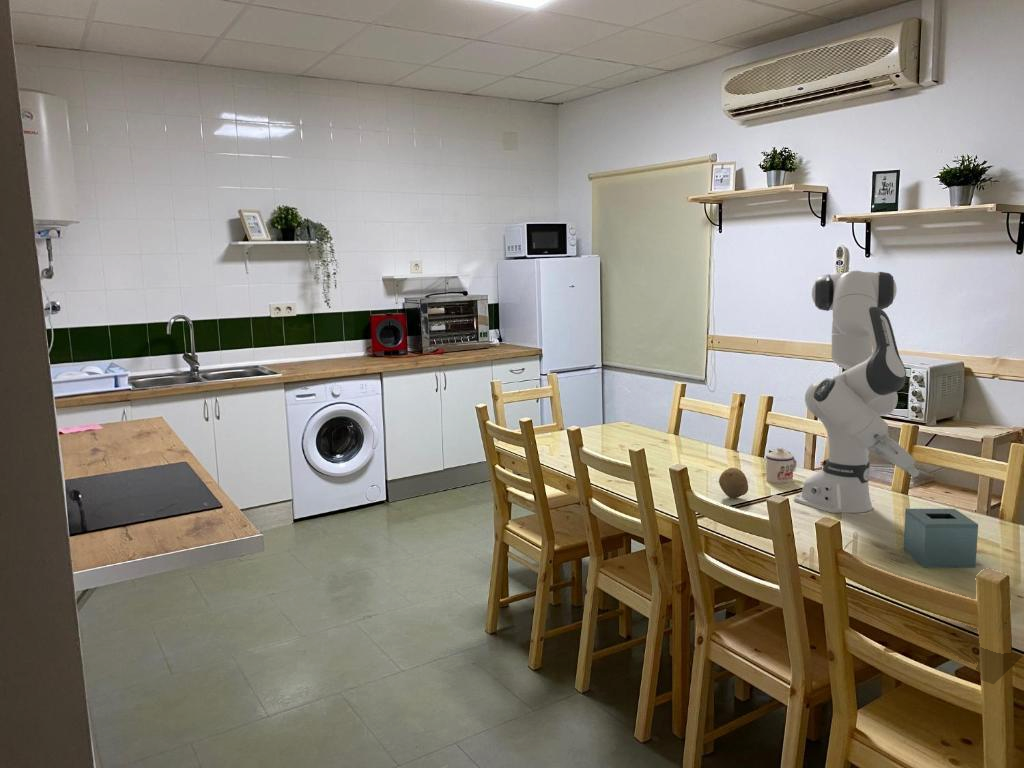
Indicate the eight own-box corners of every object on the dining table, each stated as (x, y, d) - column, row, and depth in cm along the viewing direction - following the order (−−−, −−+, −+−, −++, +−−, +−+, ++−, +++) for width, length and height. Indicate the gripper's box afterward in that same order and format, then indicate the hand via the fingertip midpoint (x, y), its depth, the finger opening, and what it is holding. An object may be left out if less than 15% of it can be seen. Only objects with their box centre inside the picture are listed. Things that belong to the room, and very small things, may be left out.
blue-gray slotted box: (923, 567, 186) (925, 524, 184) (903, 549, 198) (905, 508, 196) (975, 567, 184) (978, 524, 183) (952, 549, 196) (954, 508, 195)
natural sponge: (717, 493, 250) (717, 464, 249) (745, 494, 249) (746, 464, 247) (720, 501, 242) (720, 471, 240) (749, 502, 240) (749, 471, 239)
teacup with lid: (779, 486, 257) (780, 452, 255) (759, 479, 265) (760, 447, 263) (805, 480, 262) (806, 447, 260) (785, 474, 270) (786, 442, 268)
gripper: (895, 431, 177) (937, 471, 178) (863, 414, 197) (901, 451, 198) (874, 450, 178) (916, 490, 179) (844, 431, 198) (882, 467, 199)
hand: (908, 469), depth 188 cm, fingers open, 8 cm apart
